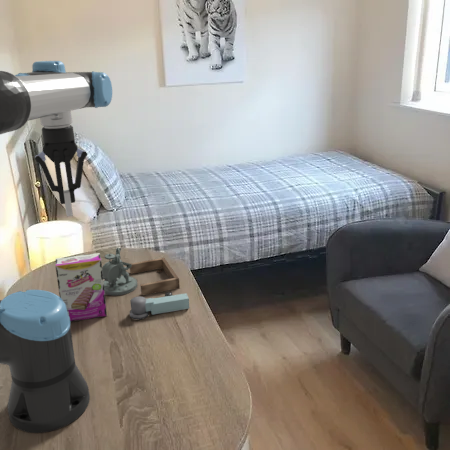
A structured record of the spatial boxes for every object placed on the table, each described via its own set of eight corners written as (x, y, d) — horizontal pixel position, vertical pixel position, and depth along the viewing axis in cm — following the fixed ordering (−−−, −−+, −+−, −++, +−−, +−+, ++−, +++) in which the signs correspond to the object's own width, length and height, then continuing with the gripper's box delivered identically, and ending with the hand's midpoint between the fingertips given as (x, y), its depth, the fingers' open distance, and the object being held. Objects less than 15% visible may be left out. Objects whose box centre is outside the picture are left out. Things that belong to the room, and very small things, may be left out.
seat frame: (142, 295, 140) (141, 286, 139) (130, 272, 154) (129, 263, 153) (179, 288, 144) (179, 278, 143) (164, 266, 158) (164, 257, 157)
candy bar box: (63, 324, 127) (54, 265, 121) (63, 314, 131) (54, 257, 126) (108, 316, 130) (101, 259, 124) (106, 307, 135) (99, 251, 129)
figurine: (144, 283, 147) (141, 246, 143) (119, 299, 139) (115, 259, 135) (118, 275, 153) (114, 239, 148) (92, 290, 144) (87, 252, 140)
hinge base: (132, 321, 128) (131, 312, 127) (126, 308, 134) (125, 300, 133) (179, 311, 132) (178, 302, 131) (171, 299, 138) (171, 291, 137)
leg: (189, 309, 132) (189, 296, 131) (132, 318, 128) (131, 305, 127) (186, 302, 136) (185, 289, 134) (130, 311, 132) (129, 297, 130)
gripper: (29, 130, 120) (44, 222, 128) (85, 125, 124) (96, 215, 133) (28, 125, 126) (43, 213, 135) (81, 121, 131) (92, 207, 139)
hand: (69, 214), depth 134 cm, fingers closed
